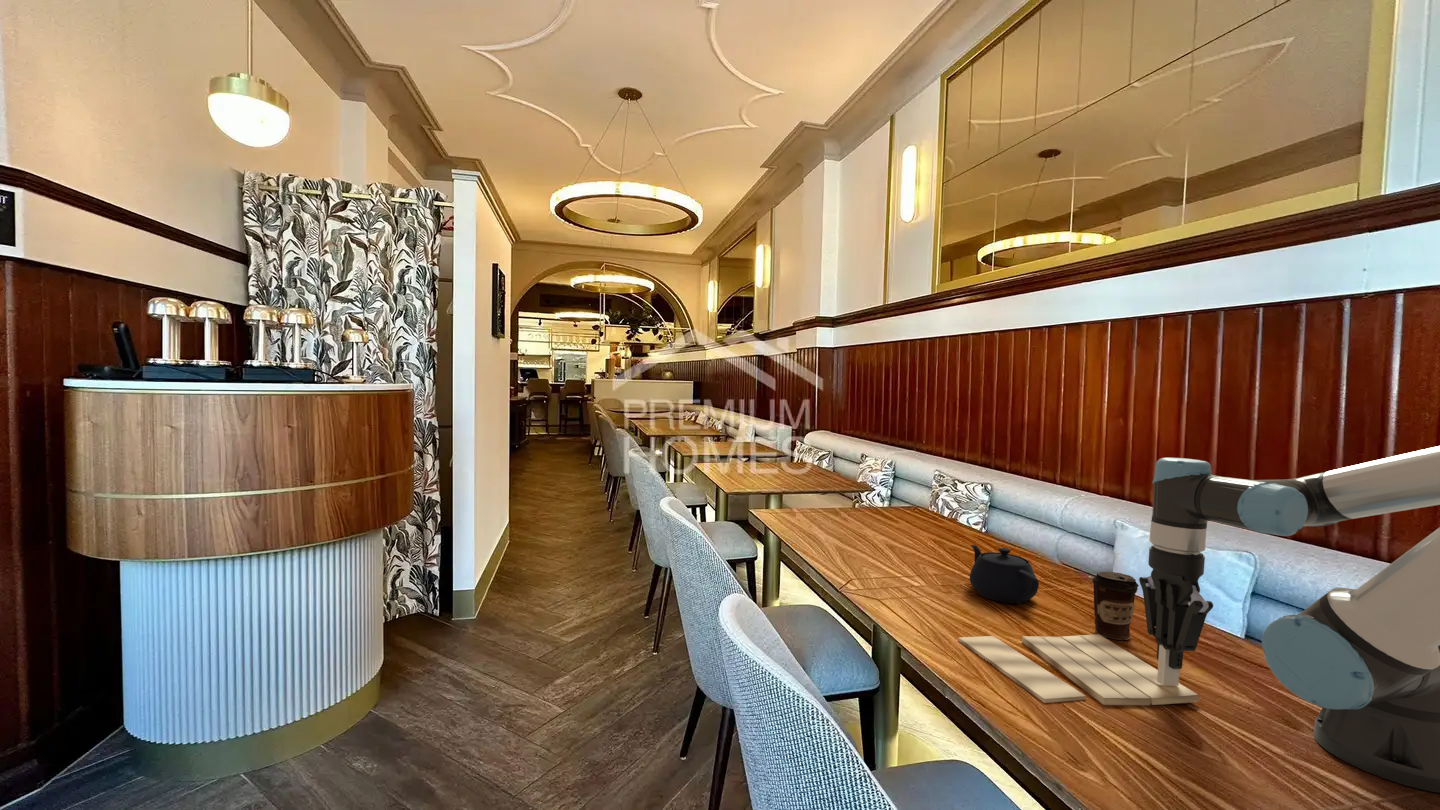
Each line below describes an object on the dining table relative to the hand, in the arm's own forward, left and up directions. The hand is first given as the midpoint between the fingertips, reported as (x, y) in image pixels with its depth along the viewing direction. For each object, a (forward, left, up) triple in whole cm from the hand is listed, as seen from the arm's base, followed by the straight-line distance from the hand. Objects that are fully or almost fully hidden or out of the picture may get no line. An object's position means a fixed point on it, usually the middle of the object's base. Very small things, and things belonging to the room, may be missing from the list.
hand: (1167, 683), depth 101 cm
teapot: (+49, +3, -2) cm, 49 cm away
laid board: (+9, +10, -2) cm, 13 cm away
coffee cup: (+25, -9, -2) cm, 26 cm away
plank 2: (+9, +2, -2) cm, 9 cm away
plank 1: (+10, +21, -3) cm, 24 cm away
